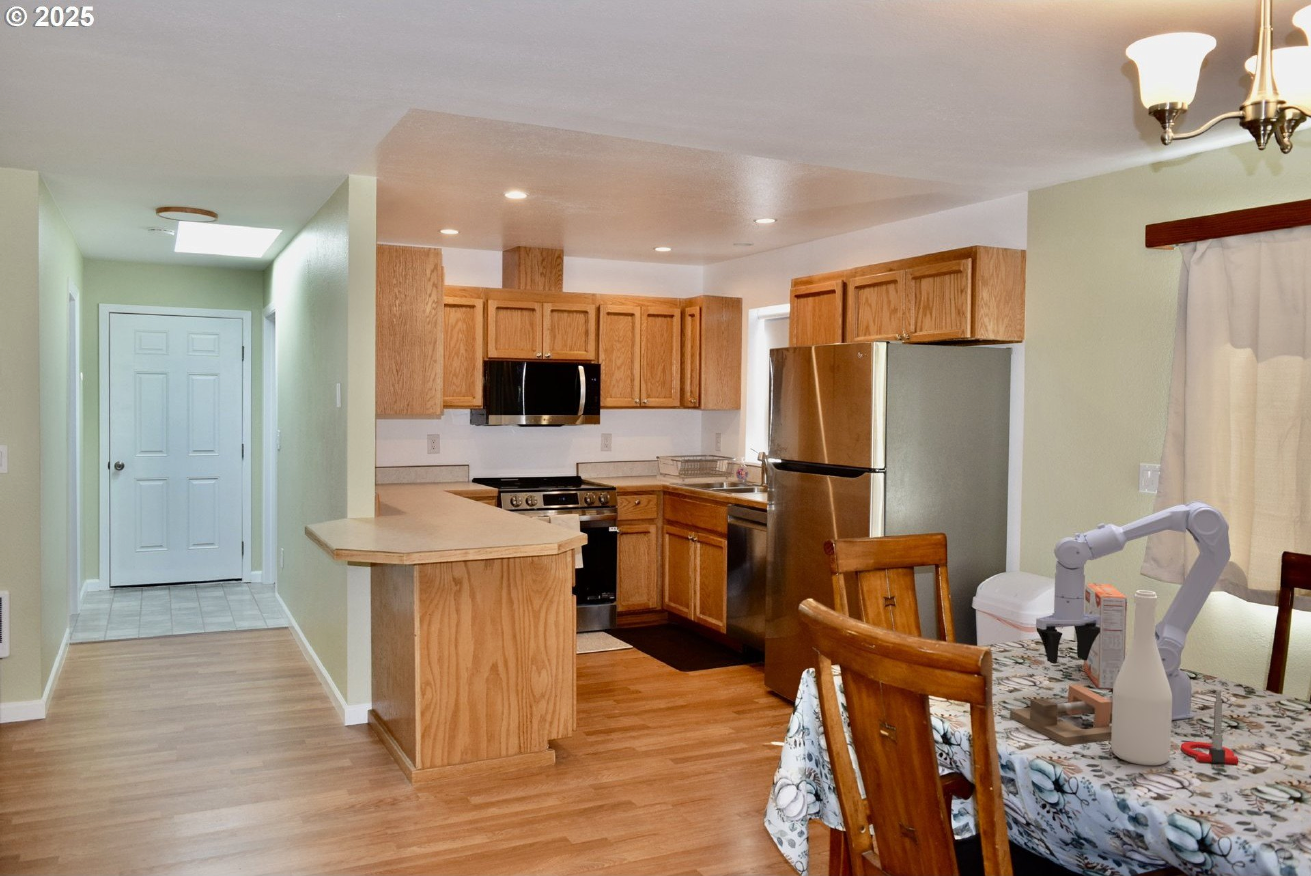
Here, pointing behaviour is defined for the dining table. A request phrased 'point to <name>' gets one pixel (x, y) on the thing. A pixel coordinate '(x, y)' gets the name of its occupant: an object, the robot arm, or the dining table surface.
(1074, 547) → the robot arm
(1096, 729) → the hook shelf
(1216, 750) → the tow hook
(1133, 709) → the wine bottle
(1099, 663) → the cracker box
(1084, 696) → the wooden arch block
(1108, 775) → the dining table surface
